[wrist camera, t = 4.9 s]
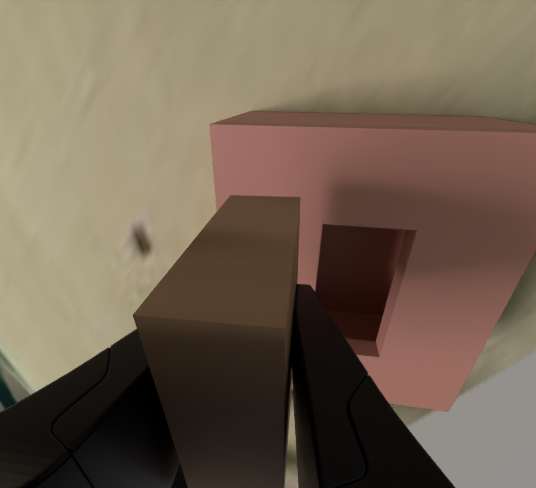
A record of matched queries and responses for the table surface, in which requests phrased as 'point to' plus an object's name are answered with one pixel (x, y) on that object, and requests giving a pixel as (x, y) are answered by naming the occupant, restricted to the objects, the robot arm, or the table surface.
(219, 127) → the coin box
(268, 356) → the block
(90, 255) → the table surface
